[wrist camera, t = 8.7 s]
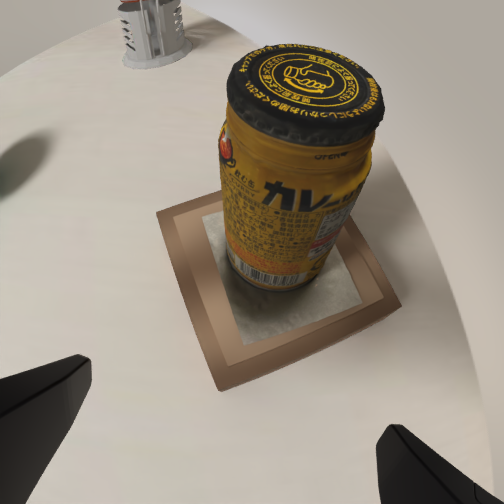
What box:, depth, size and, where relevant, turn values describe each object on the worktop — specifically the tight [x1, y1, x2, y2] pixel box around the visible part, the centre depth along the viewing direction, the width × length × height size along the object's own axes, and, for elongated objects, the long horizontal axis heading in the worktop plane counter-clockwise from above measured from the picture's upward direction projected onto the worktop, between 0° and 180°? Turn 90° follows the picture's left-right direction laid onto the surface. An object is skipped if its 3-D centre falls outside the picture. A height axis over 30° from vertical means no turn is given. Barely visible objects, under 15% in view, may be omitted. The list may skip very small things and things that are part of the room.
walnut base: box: [156, 190, 402, 392], centre depth 21 cm, size 12×12×3 cm
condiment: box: [202, 44, 385, 346], centre depth 14 cm, size 7×8×12 cm
